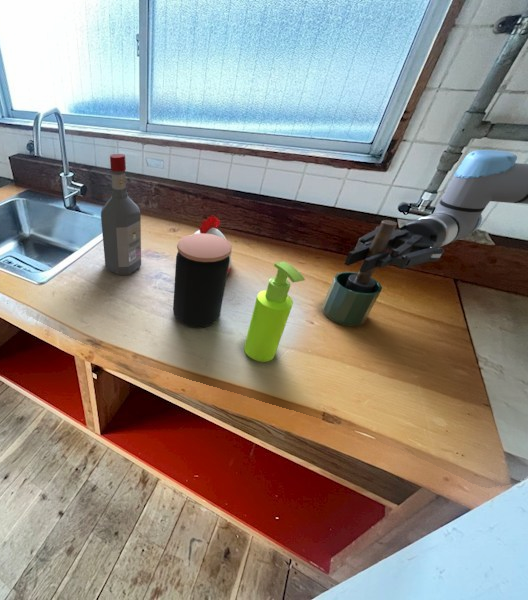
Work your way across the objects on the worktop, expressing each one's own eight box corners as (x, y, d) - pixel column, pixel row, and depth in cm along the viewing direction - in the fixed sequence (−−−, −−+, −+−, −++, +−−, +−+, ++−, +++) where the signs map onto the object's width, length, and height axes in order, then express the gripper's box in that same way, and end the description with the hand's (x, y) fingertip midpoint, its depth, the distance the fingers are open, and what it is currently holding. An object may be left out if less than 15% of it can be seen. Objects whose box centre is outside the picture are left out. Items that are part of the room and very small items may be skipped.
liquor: (145, 264, 93) (145, 154, 75) (124, 278, 88) (118, 162, 70) (122, 255, 98) (116, 149, 80) (101, 267, 93) (89, 157, 75)
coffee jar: (228, 312, 74) (242, 242, 64) (203, 337, 68) (213, 264, 57) (189, 295, 80) (196, 228, 69) (163, 316, 74) (166, 246, 63)
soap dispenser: (256, 368, 61) (284, 281, 49) (238, 343, 66) (259, 259, 54) (284, 362, 62) (317, 275, 50) (264, 338, 67) (289, 254, 55)
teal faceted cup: (373, 318, 71) (391, 286, 66) (348, 331, 68) (364, 299, 63) (337, 298, 77) (351, 268, 72) (313, 309, 74) (325, 278, 69)
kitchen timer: (170, 266, 92) (172, 216, 83) (200, 250, 99) (205, 202, 90) (210, 286, 83) (218, 233, 74) (239, 266, 90) (250, 215, 81)
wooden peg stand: (370, 301, 70) (411, 224, 59) (356, 308, 68) (395, 229, 58) (349, 290, 73) (384, 215, 63) (335, 296, 72) (368, 220, 61)
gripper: (456, 265, 67) (388, 298, 59) (381, 237, 78) (315, 261, 70) (479, 232, 63) (408, 263, 55) (395, 207, 74) (326, 230, 66)
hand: (356, 262), depth 62 cm, fingers closed on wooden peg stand, 2 cm apart
